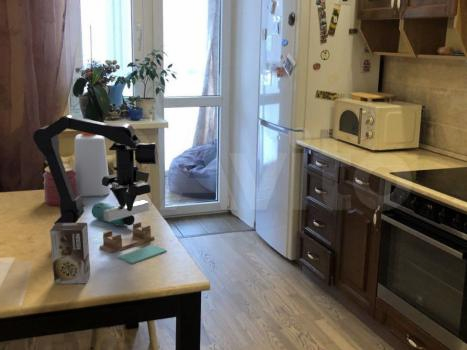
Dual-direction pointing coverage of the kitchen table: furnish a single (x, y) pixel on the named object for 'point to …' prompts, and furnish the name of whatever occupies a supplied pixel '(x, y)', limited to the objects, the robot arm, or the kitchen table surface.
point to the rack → (117, 243)
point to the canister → (50, 188)
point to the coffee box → (70, 253)
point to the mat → (142, 254)
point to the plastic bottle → (90, 165)
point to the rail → (125, 211)
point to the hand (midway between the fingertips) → (126, 209)
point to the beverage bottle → (99, 214)
